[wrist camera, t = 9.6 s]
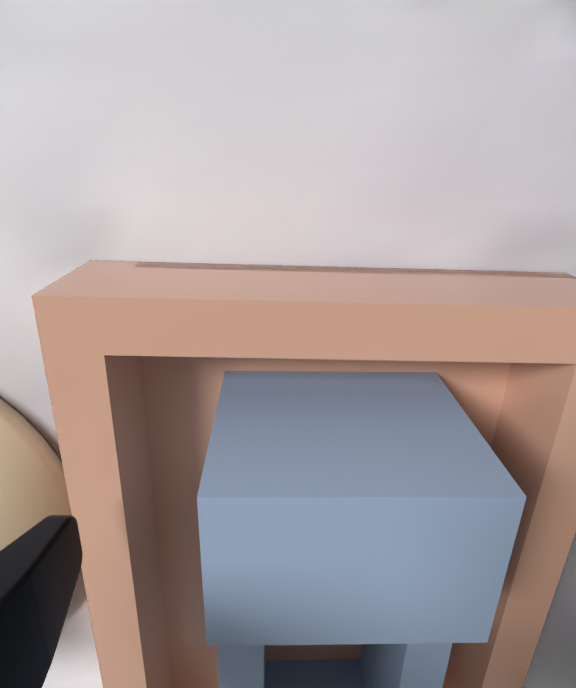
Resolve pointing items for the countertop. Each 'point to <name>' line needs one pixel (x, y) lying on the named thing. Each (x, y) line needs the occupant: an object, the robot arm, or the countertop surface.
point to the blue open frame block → (349, 527)
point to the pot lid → (27, 477)
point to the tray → (290, 355)
